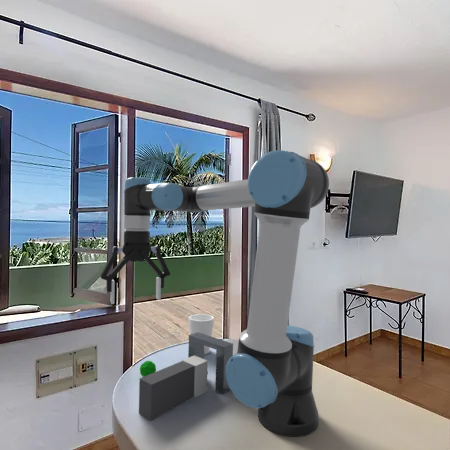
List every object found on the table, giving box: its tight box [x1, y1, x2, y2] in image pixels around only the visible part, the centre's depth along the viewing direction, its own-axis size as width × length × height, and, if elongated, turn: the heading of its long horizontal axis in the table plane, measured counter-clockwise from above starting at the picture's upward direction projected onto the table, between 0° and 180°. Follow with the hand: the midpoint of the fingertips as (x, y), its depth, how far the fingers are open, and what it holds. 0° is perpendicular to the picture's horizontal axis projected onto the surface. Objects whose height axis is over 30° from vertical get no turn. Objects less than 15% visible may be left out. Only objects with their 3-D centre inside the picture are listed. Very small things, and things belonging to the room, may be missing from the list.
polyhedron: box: [139, 360, 157, 377], centre depth 107 cm, size 5×5×5 cm
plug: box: [138, 356, 209, 422], centre depth 94 cm, size 6×22×9 cm, turn 140°
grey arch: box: [187, 332, 234, 395], centre depth 104 cm, size 14×4×14 cm, turn 50°
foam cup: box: [188, 313, 215, 355], centre depth 129 cm, size 10×9×13 cm
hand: (135, 301), depth 103 cm, fingers open, 13 cm apart
